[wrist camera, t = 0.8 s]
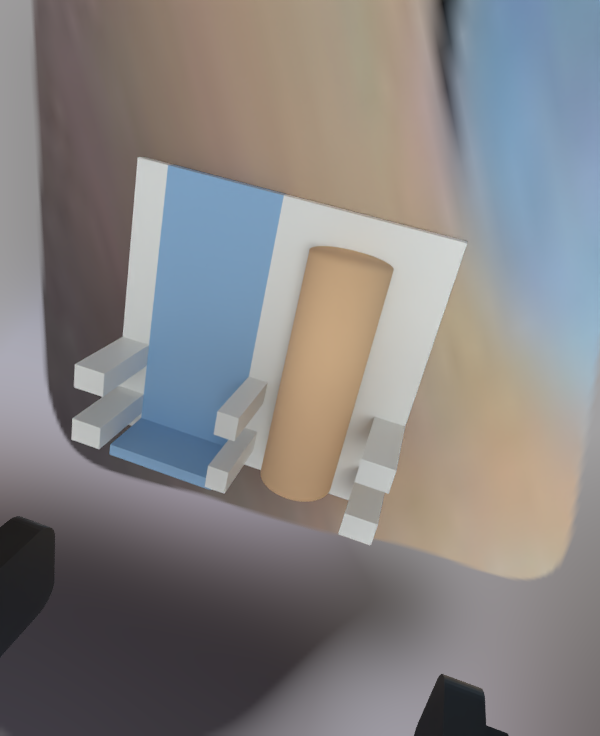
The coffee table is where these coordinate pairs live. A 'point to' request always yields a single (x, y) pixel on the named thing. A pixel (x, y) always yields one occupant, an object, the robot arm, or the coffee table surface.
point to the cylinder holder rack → (252, 333)
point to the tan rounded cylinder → (323, 369)
